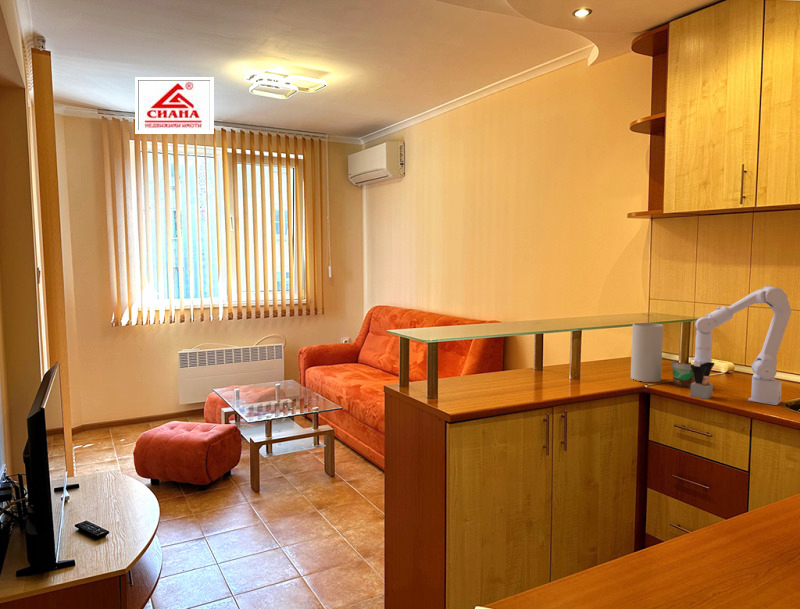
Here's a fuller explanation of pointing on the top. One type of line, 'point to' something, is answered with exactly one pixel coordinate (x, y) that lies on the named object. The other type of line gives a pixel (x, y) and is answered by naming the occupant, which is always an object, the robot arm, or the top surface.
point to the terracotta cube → (704, 381)
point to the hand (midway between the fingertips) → (701, 381)
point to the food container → (682, 374)
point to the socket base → (701, 391)
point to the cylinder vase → (646, 352)
